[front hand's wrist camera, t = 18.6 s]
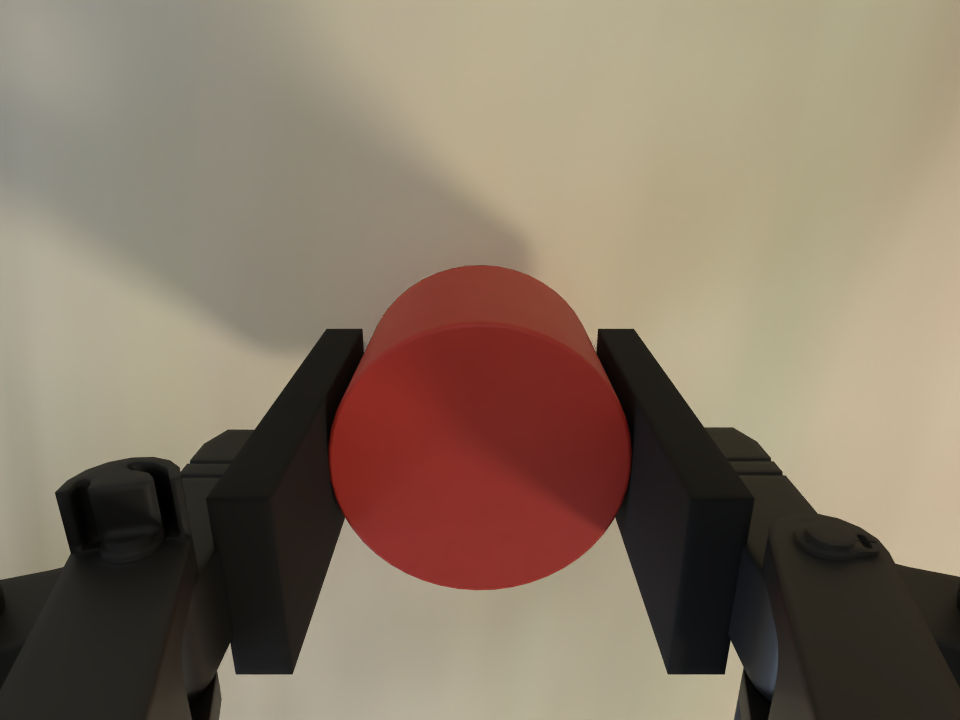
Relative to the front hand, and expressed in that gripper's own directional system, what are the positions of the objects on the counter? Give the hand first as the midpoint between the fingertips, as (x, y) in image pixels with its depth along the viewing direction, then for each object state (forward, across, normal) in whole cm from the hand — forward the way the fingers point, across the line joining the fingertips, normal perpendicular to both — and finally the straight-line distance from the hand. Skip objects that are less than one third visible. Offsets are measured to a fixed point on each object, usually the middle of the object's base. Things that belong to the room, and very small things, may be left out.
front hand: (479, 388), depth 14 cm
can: (0, 0, 0) cm, 0 cm away
